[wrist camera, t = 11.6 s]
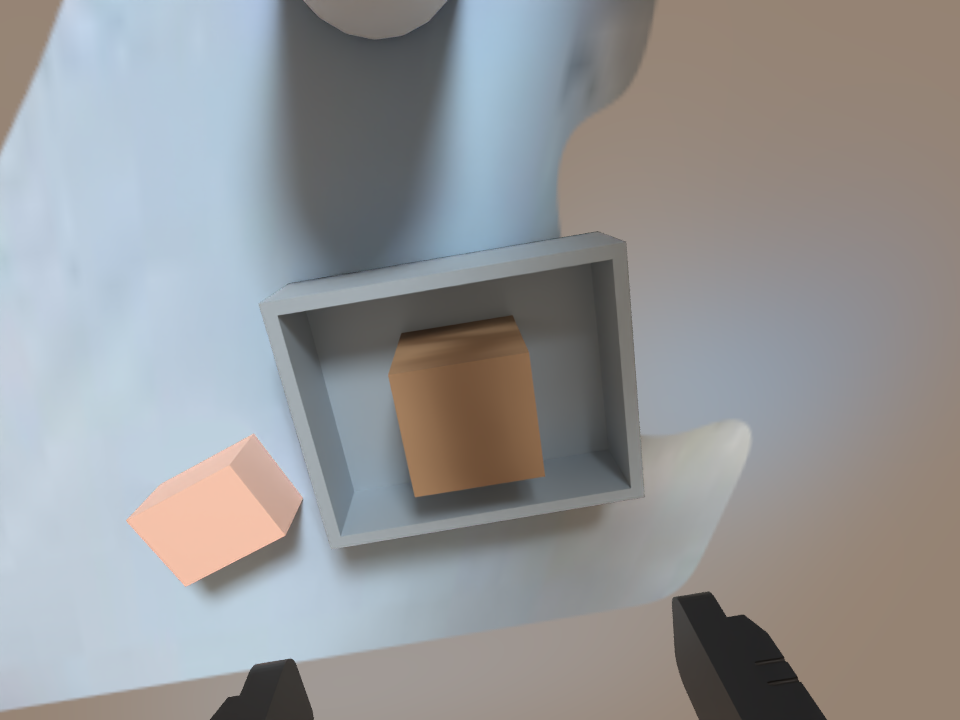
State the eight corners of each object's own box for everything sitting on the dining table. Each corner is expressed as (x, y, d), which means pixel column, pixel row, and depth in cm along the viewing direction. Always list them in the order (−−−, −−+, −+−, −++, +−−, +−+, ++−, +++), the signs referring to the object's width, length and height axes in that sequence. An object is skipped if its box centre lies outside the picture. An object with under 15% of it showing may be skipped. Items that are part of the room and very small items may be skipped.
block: (421, 433, 29) (414, 497, 23) (401, 332, 27) (387, 374, 21) (526, 416, 29) (545, 476, 23) (512, 315, 27) (529, 352, 21)
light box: (162, 482, 30) (125, 520, 26) (254, 432, 29) (229, 465, 26) (214, 543, 31) (185, 586, 28) (303, 496, 30) (285, 535, 27)
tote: (289, 283, 26) (258, 303, 22) (597, 231, 26) (626, 241, 22) (347, 496, 30) (331, 549, 26) (617, 452, 30) (644, 497, 26)
